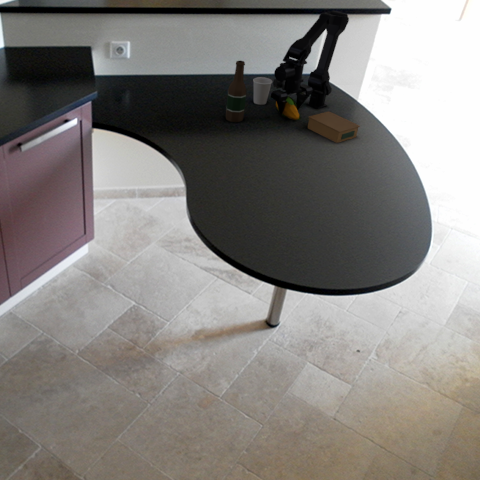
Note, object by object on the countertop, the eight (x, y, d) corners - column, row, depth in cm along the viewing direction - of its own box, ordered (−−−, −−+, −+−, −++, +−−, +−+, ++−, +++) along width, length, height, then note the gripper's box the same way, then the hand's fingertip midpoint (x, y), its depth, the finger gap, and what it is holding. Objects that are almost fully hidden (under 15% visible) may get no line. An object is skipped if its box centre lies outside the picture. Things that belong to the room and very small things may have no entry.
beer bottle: (245, 117, 248) (253, 60, 234) (240, 124, 242) (247, 65, 228) (228, 113, 250) (234, 57, 237) (222, 120, 244) (228, 62, 231)
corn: (289, 89, 254) (308, 107, 238) (287, 106, 259) (306, 125, 243) (272, 91, 253) (291, 109, 237) (271, 108, 258) (289, 127, 242)
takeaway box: (306, 128, 241) (308, 116, 238) (326, 122, 246) (328, 111, 243) (336, 143, 229) (339, 131, 227) (357, 137, 235) (360, 125, 232)
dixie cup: (272, 101, 264) (275, 79, 258) (264, 107, 258) (267, 85, 252) (255, 97, 267) (258, 75, 261) (247, 102, 261) (250, 80, 256)
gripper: (297, 66, 250) (291, 102, 259) (264, 73, 241) (259, 109, 250) (316, 74, 243) (309, 110, 251) (283, 82, 234) (277, 119, 243)
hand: (288, 112), depth 249 cm, fingers open, 9 cm apart
